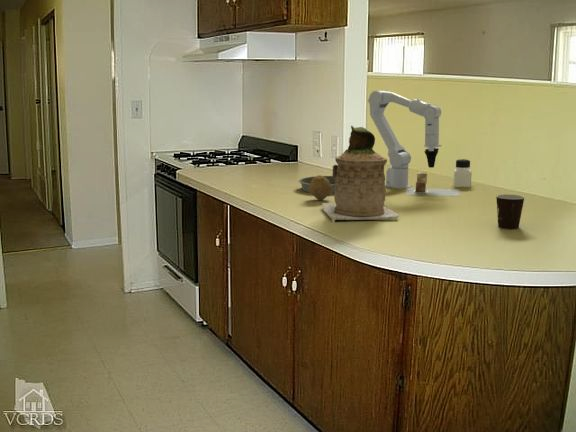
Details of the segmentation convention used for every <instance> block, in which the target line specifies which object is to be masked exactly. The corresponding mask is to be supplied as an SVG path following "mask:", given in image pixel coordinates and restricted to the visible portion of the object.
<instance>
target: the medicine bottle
mask: <svg viewBox="0 0 576 432" xmlns="http://www.w3.org/2000/svg"><path fill="white" fill-rule="evenodd" d="M470 168H471V160H469V159H466V158H464V159H463V158H460V159H456V161H455V168H454V170H453V187H454V188H456V187H457V188H471V186H472V171H471V169H470Z"/></svg>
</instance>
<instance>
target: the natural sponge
mask: <svg viewBox="0 0 576 432" xmlns="http://www.w3.org/2000/svg"><path fill="white" fill-rule="evenodd" d="M324 176H325V175H320V174H319V175H316V177H314V178H313V179H312V181H311V183H310V186H309V190H310V192H311V193H310V192H309V193H310V194H312V196H313V197H314V198H315V199H317V200H318V201H323V200H325V199H326V198H327V197H329V196H330V195H332V194H331V193H332V187H331V184H330V182H329V180H328V179H327V178H326V177H324Z"/></svg>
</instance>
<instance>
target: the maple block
mask: <svg viewBox="0 0 576 432" xmlns="http://www.w3.org/2000/svg"><path fill="white" fill-rule="evenodd" d="M416 182H417V183H426V184H427V183H428V172H424V171H423V172H420V171H417V173H416Z"/></svg>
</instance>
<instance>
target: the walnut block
mask: <svg viewBox="0 0 576 432" xmlns="http://www.w3.org/2000/svg"><path fill="white" fill-rule="evenodd" d="M426 184H427V183H417V181H416V182H415V188H416V192H420V193H425V192H426V189H427V185H426Z"/></svg>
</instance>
